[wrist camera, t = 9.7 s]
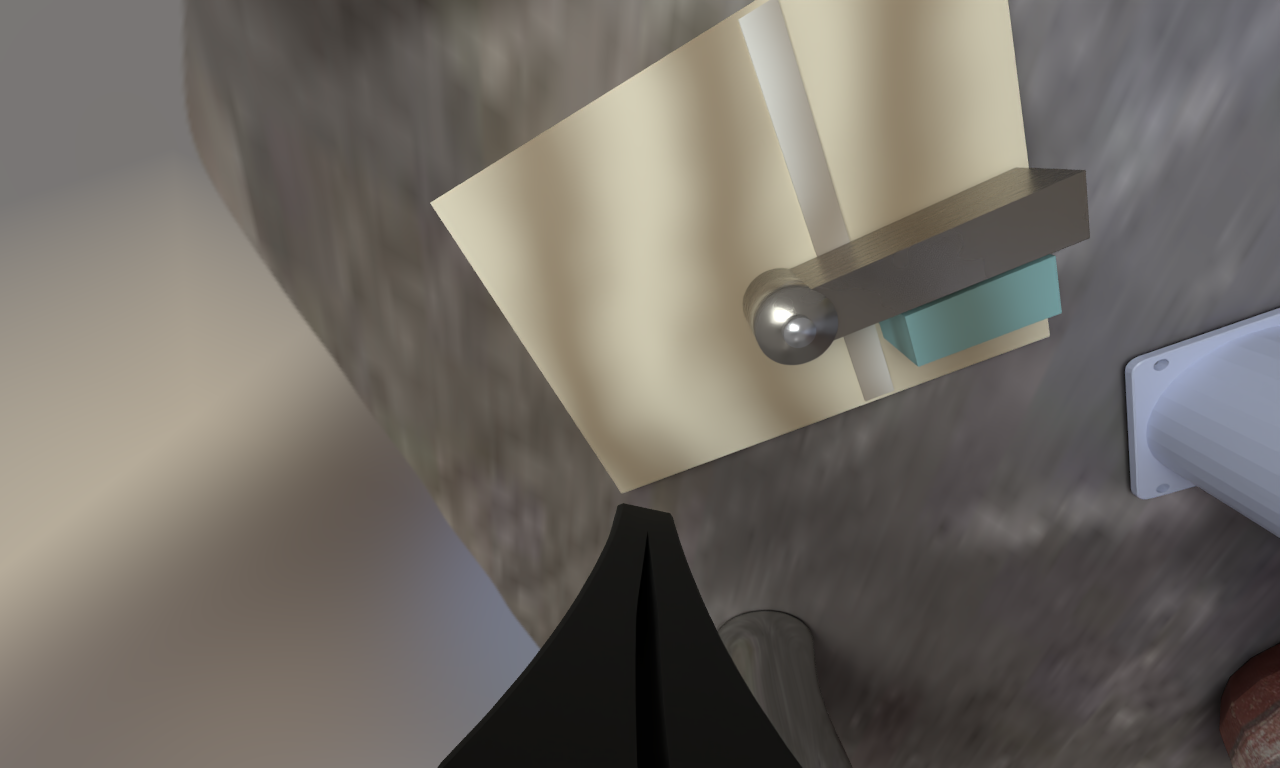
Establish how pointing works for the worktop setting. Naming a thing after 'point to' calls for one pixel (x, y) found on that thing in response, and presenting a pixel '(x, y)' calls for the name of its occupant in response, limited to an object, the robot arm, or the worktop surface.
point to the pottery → (1253, 712)
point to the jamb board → (750, 221)
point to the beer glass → (785, 683)
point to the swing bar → (916, 260)
